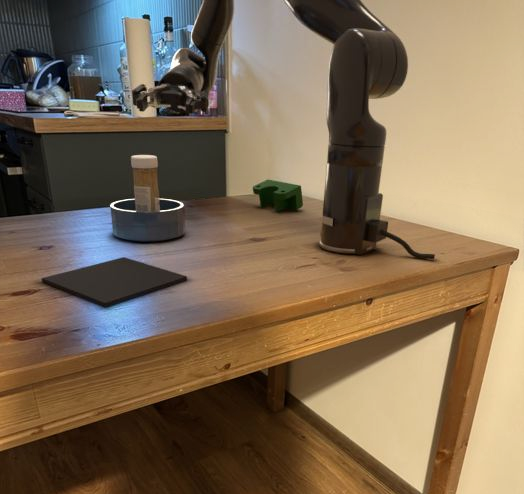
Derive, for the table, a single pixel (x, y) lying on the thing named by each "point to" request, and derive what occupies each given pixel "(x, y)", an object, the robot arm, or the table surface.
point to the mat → (114, 281)
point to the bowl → (148, 221)
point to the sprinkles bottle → (145, 182)
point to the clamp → (279, 195)
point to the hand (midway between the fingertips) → (164, 107)
